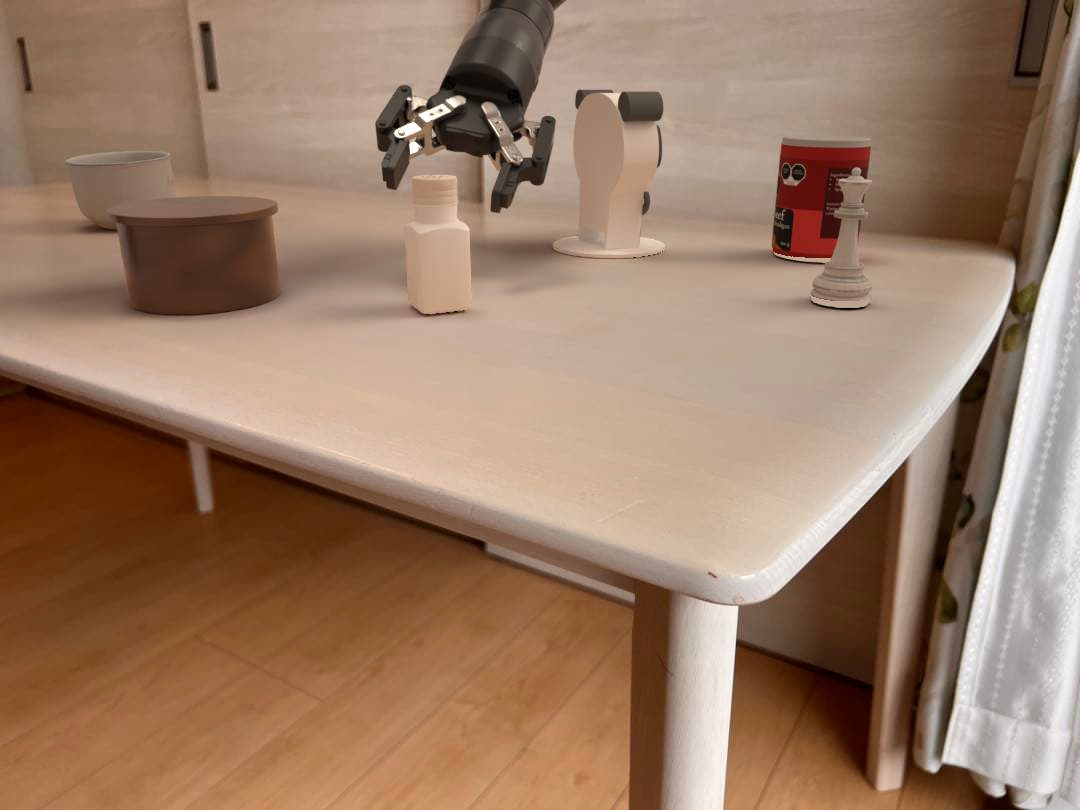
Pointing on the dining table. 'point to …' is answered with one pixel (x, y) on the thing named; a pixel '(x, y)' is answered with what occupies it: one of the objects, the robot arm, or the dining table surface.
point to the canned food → (814, 191)
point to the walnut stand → (198, 253)
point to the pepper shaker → (437, 248)
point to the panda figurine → (614, 172)
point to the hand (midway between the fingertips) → (442, 193)
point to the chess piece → (846, 248)
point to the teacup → (119, 181)
